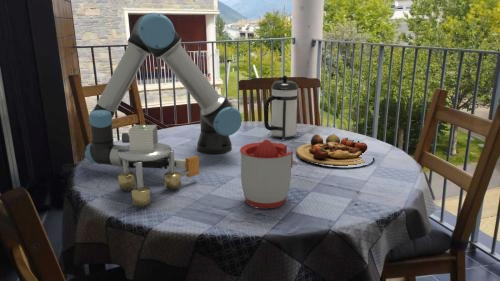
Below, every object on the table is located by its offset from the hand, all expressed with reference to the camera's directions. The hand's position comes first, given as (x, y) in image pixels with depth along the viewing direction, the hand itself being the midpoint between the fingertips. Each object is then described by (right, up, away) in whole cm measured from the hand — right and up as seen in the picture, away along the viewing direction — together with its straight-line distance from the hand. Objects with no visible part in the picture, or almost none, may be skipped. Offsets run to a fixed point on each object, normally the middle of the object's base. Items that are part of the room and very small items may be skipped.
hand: (185, 164), depth 136 cm
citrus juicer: (+27, -11, -12) cm, 32 cm away
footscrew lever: (-1, -7, -1) cm, 7 cm away
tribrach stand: (-12, -10, -10) cm, 18 cm away
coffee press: (+37, +9, +59) cm, 71 cm away
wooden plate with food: (+57, +1, +32) cm, 65 cm away
